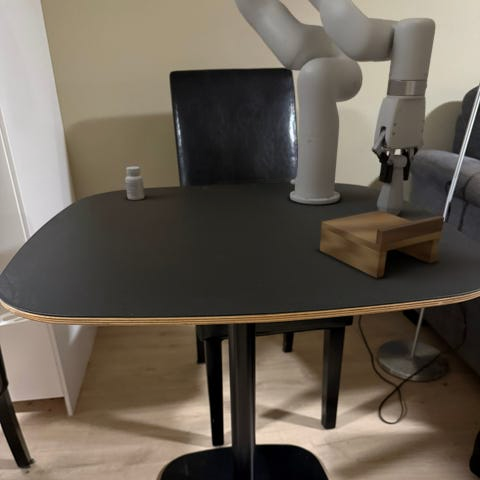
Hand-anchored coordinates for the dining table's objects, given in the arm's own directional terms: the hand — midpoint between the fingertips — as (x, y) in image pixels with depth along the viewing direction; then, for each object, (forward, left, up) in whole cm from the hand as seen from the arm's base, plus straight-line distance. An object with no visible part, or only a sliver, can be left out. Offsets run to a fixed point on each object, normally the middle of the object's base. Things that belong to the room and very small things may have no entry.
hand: (393, 180), depth 106 cm
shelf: (+18, -21, -8) cm, 29 cm away
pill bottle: (-45, -45, -8) cm, 64 cm away
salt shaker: (0, 0, -8) cm, 8 cm away
